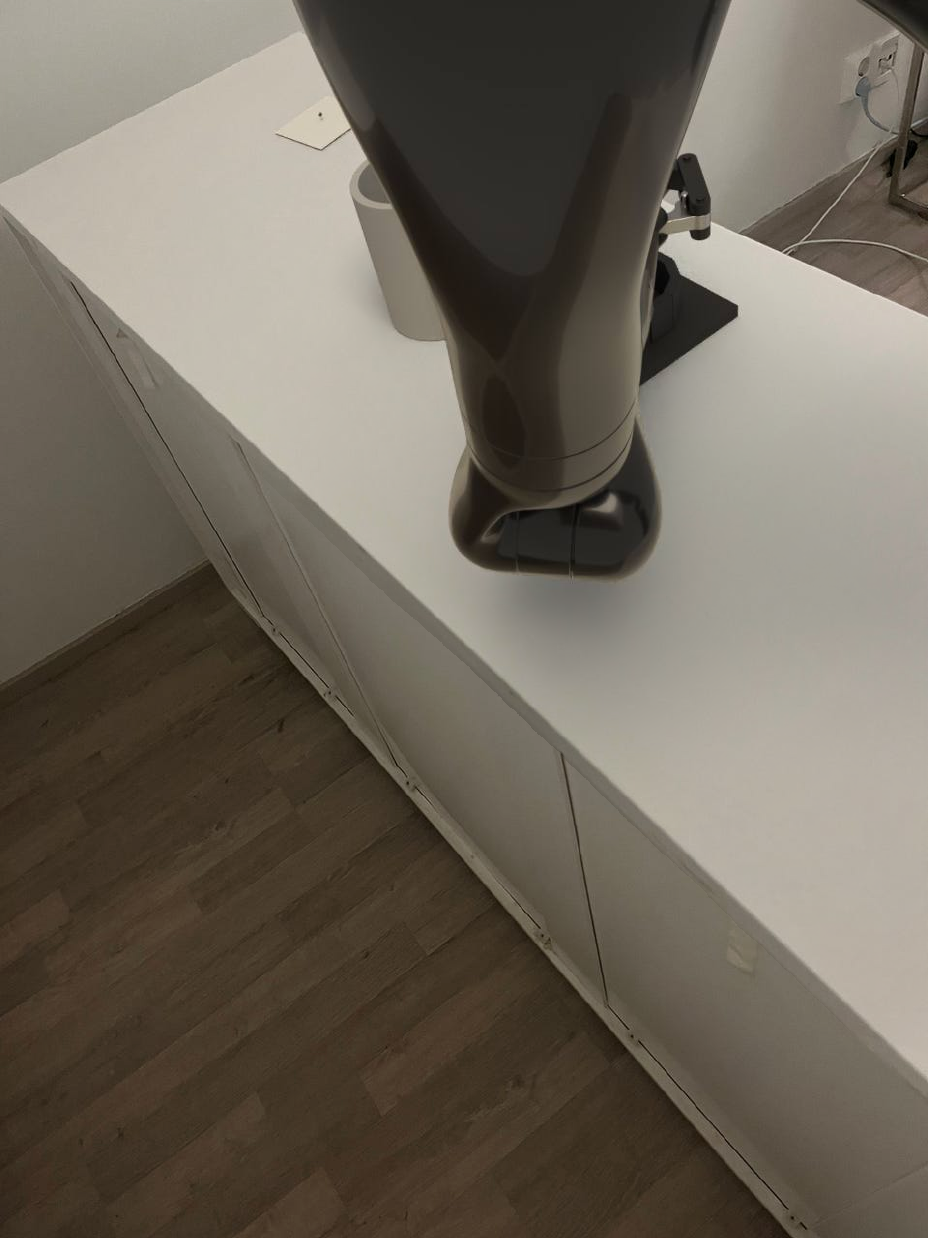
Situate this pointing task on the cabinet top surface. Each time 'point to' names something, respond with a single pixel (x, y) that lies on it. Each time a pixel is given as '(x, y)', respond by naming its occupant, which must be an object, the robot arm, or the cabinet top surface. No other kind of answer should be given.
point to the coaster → (317, 124)
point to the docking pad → (680, 317)
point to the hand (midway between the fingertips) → (614, 141)
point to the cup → (393, 260)
